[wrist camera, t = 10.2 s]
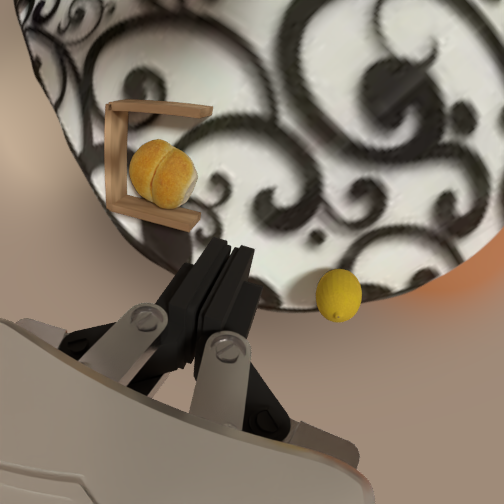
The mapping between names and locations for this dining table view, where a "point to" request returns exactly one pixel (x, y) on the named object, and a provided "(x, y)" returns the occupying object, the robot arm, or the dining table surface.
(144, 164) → the bread roll
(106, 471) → the robot arm
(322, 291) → the lemon
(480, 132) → the dining table surface
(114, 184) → the bay
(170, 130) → the dining table surface
